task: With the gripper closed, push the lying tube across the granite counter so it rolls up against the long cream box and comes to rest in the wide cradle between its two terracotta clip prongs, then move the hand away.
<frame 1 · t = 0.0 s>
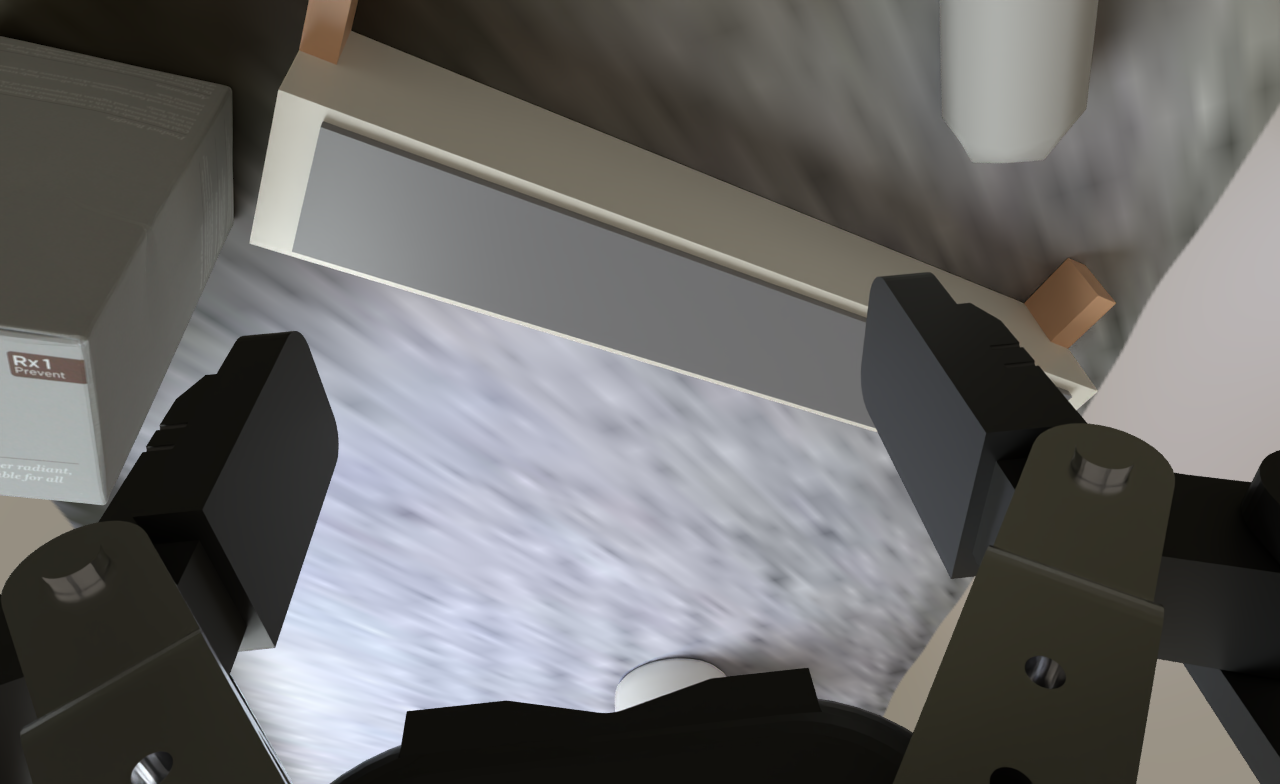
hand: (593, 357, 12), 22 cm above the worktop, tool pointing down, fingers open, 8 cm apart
long cream box: (710, 243, 38), on the worktop
mug: (659, 686, 68), on the worktop
skincare box: (131, 125, 32), on the worktop
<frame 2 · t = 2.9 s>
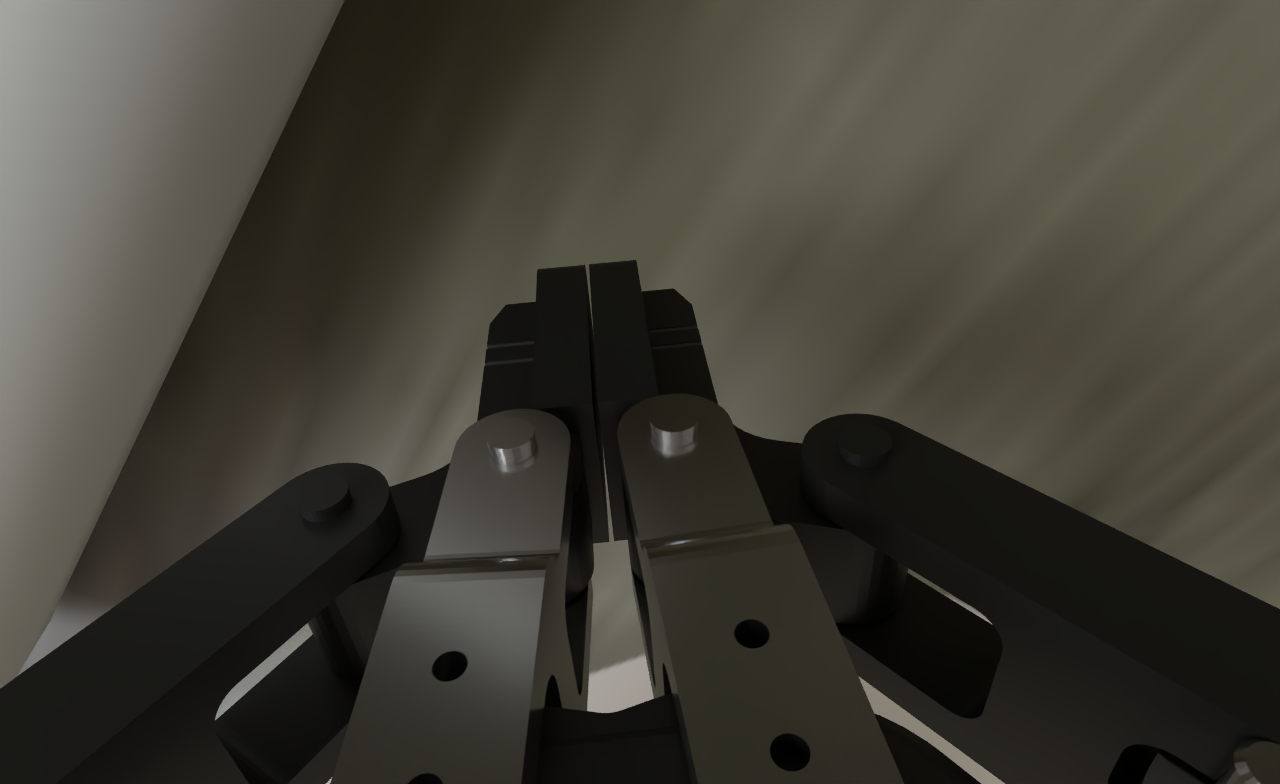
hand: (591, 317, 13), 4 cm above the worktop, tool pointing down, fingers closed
tube: (112, 201, 16), on the worktop
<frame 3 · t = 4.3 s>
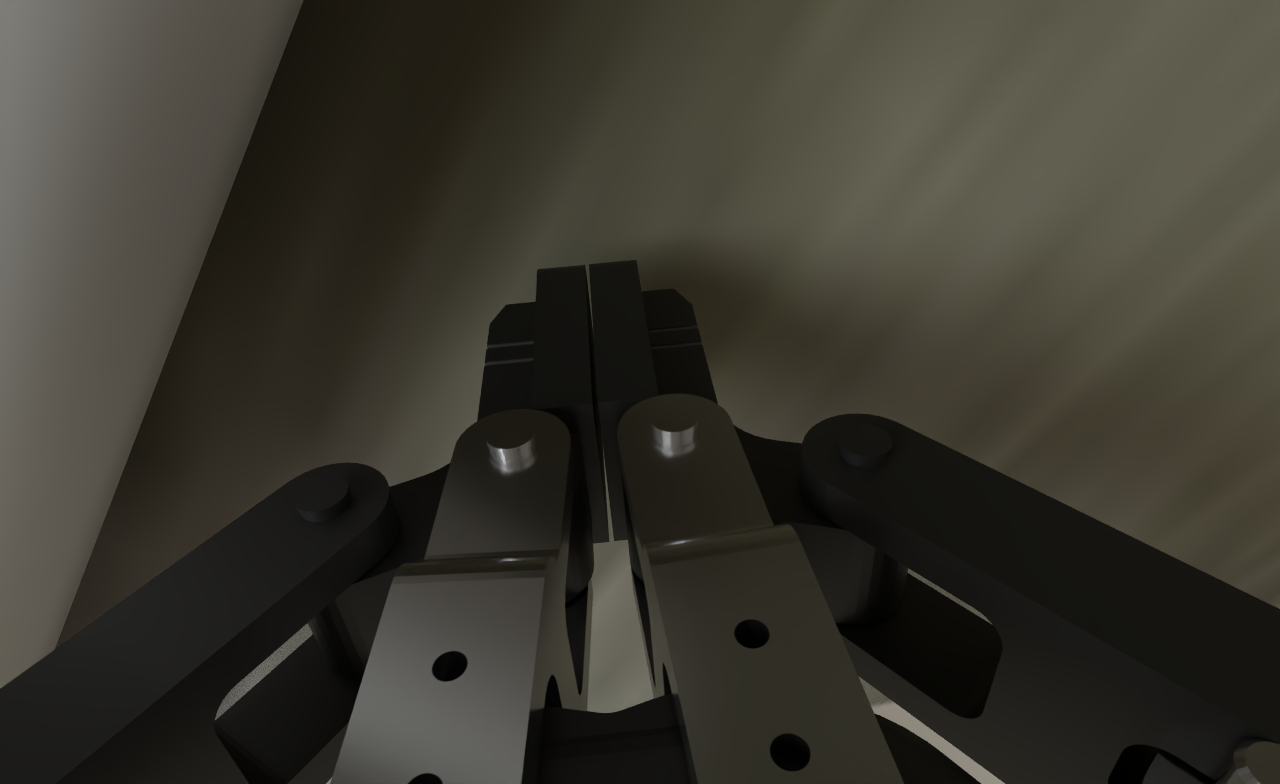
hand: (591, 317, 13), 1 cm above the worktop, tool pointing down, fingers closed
tube: (51, 260, 13), on the worktop
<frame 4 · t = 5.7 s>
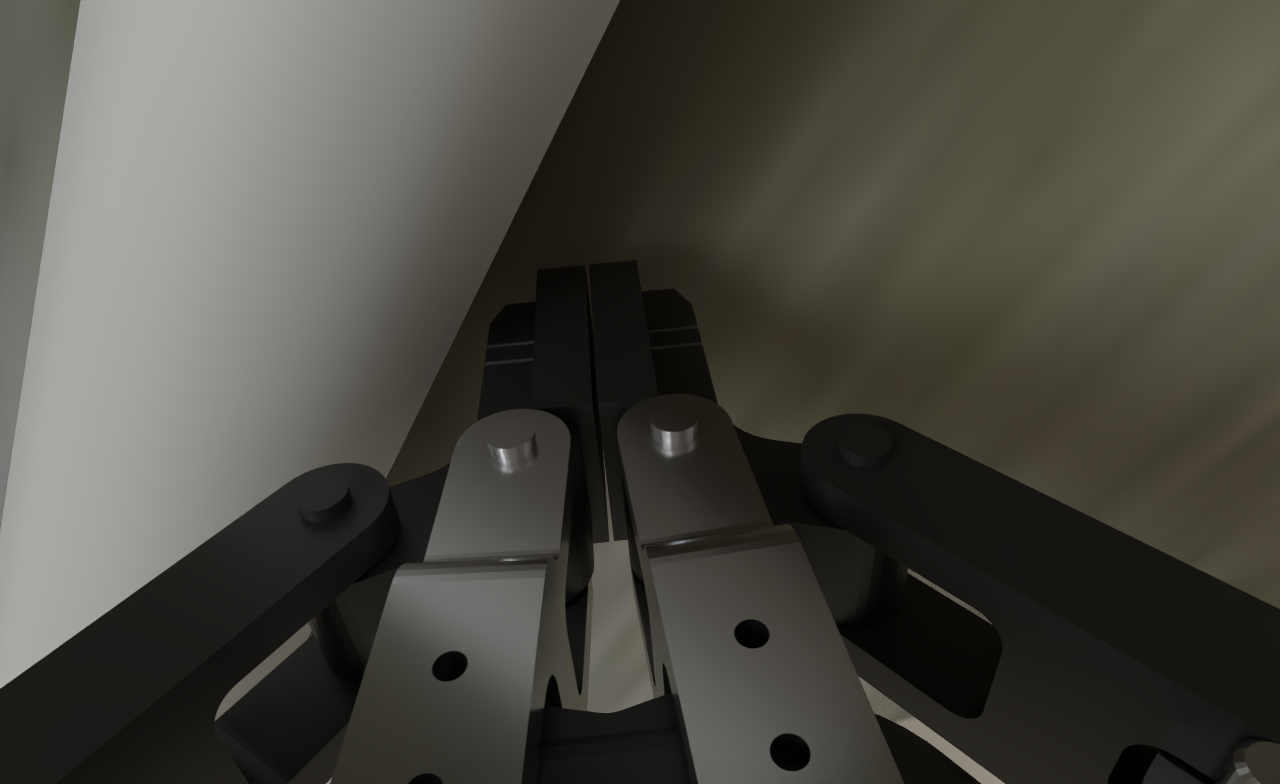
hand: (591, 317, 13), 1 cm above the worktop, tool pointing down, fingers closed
tube: (319, 201, 13), on the worktop, touching gripper
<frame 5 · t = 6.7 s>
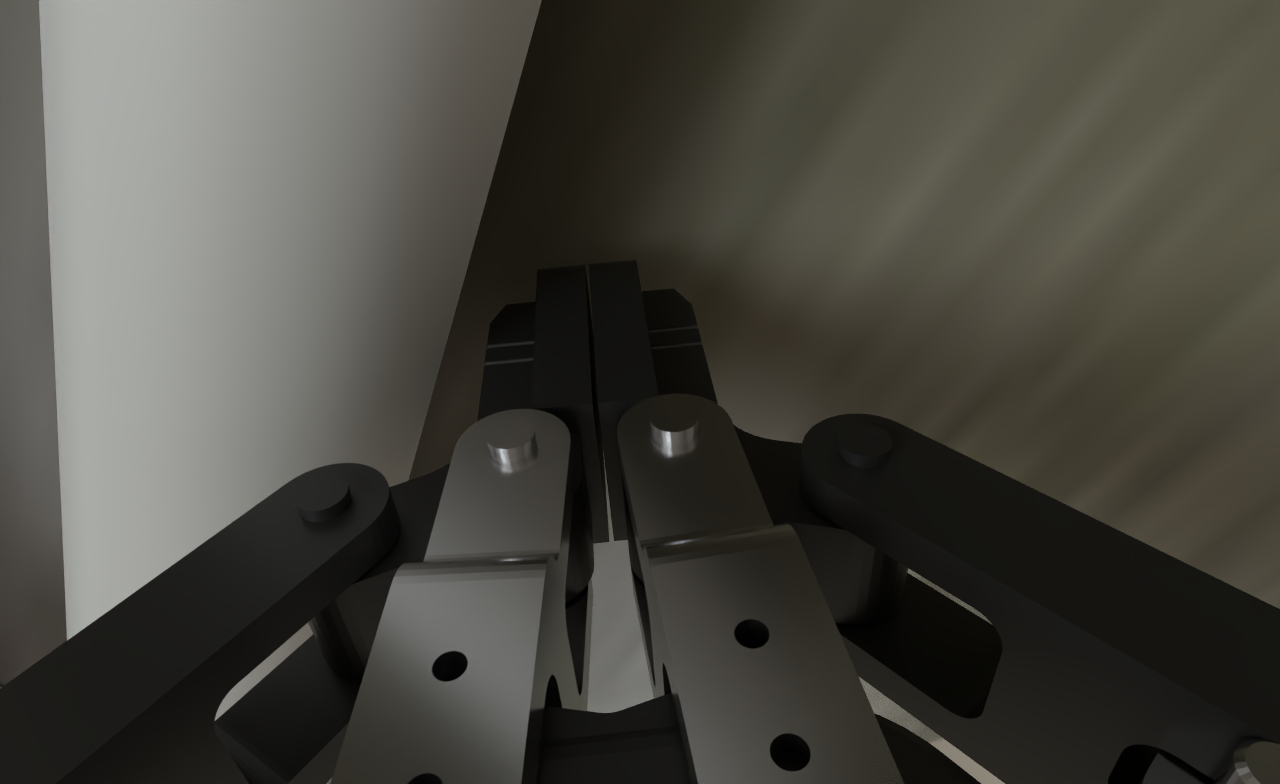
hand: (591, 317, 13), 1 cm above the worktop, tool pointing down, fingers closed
tube: (338, 111, 12), on the worktop
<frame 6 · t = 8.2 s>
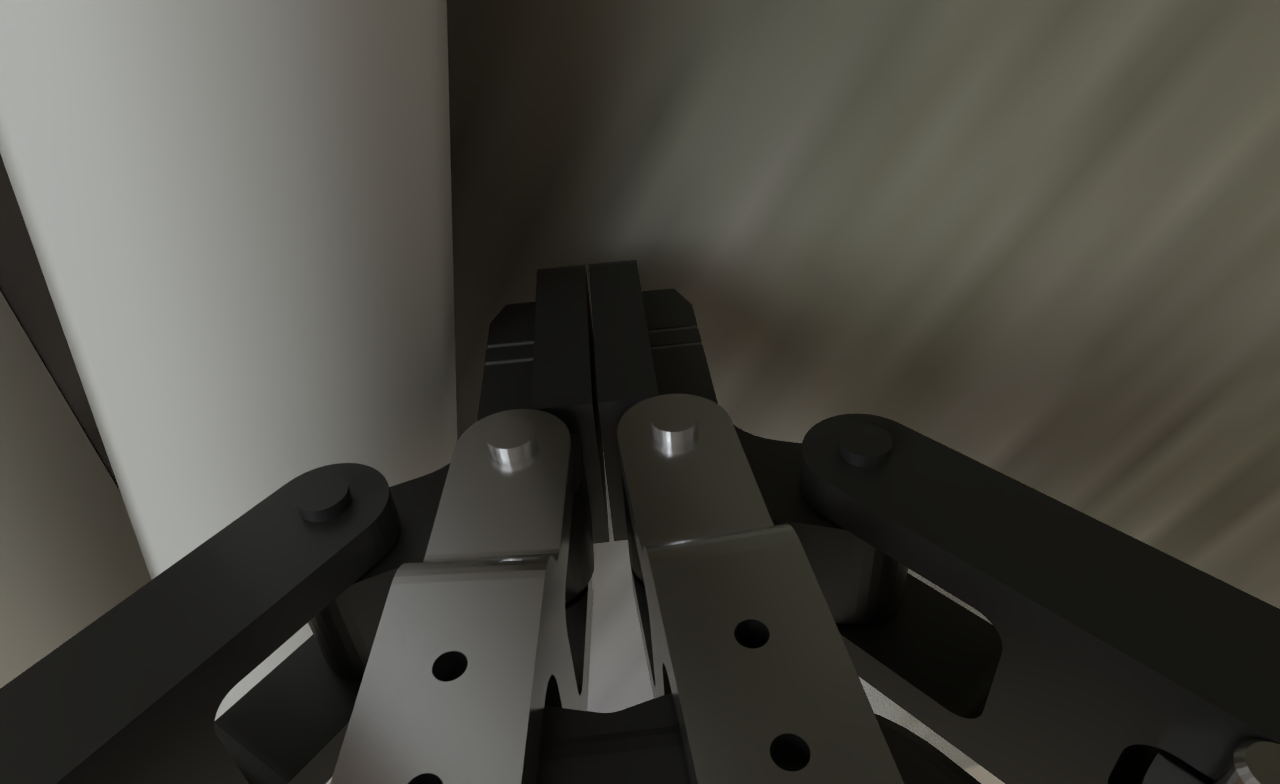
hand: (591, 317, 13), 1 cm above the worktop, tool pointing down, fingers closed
tube: (299, 48, 12), on the worktop, touching gripper
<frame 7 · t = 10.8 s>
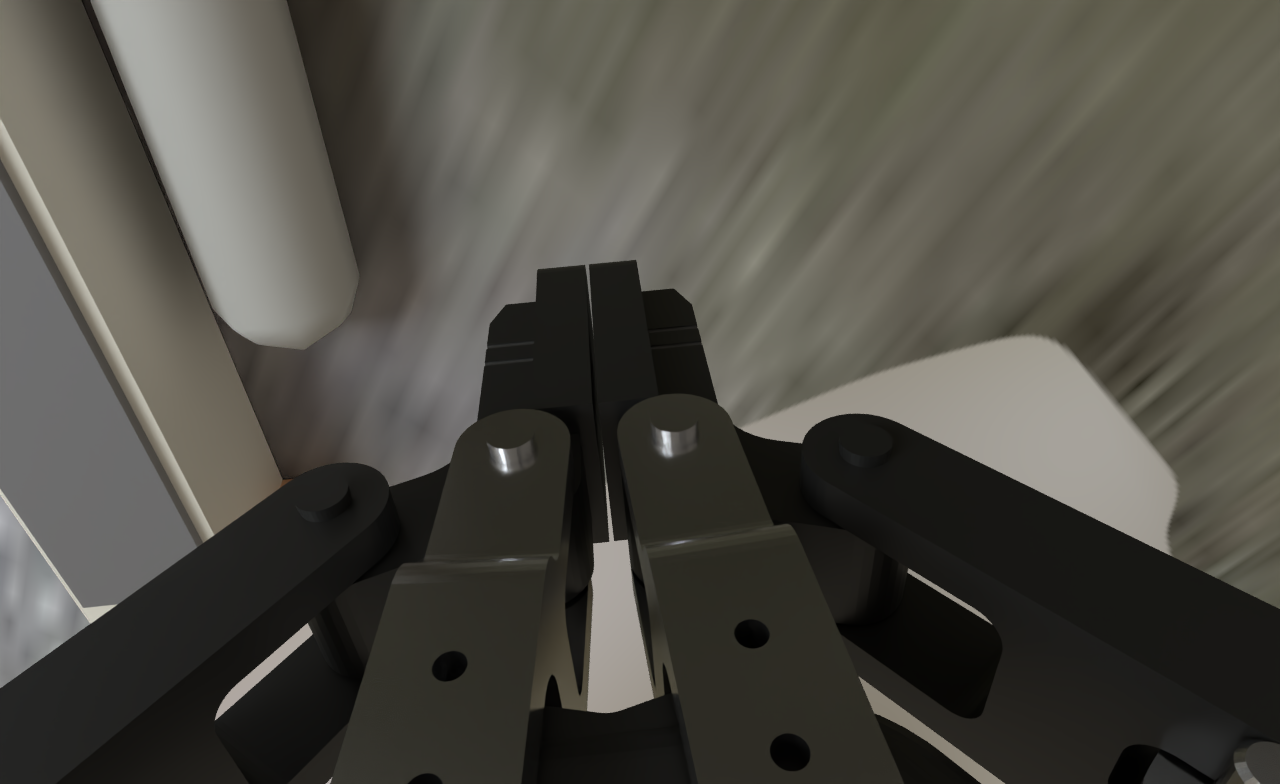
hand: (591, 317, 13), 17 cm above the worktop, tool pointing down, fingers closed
long cream box: (18, 91, 26), on the worktop
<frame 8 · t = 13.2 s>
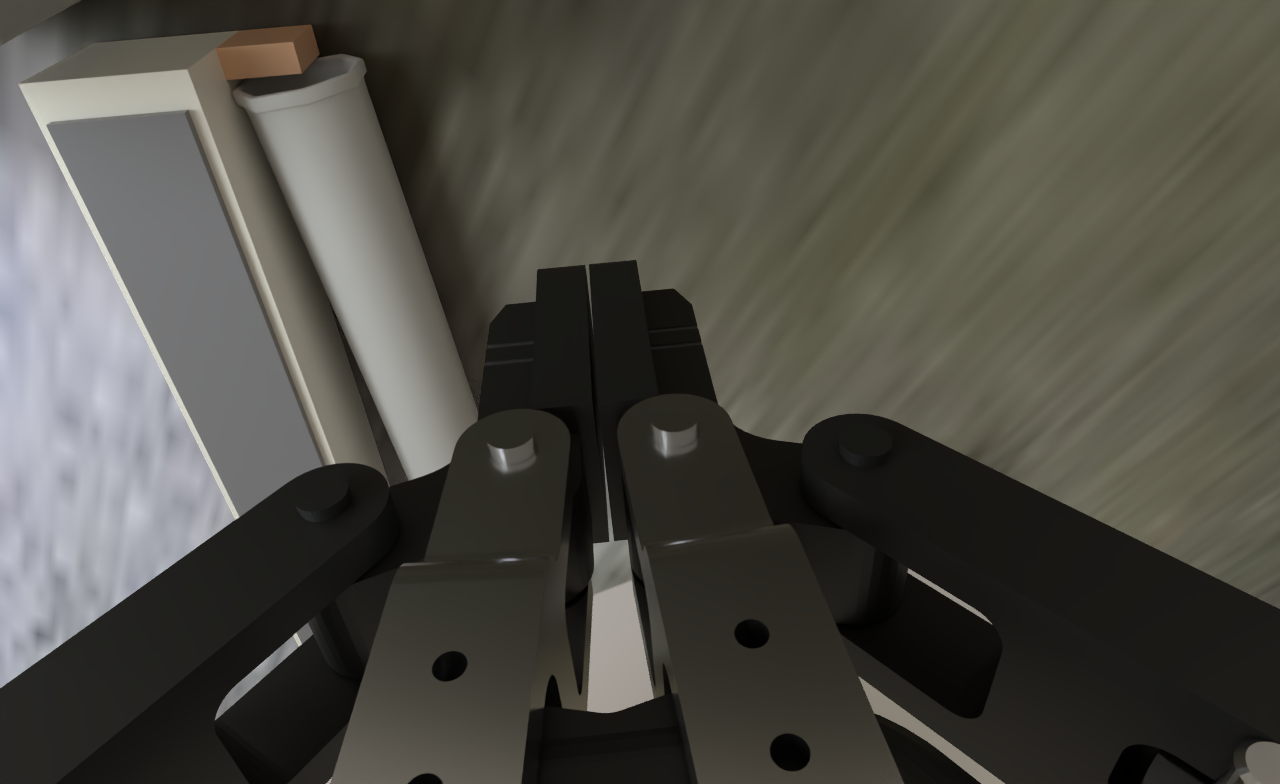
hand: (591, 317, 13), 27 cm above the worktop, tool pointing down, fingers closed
long cream box: (299, 383, 45), on the worktop
tube: (406, 302, 43), on the worktop
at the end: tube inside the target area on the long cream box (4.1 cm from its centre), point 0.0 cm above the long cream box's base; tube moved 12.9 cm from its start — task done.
